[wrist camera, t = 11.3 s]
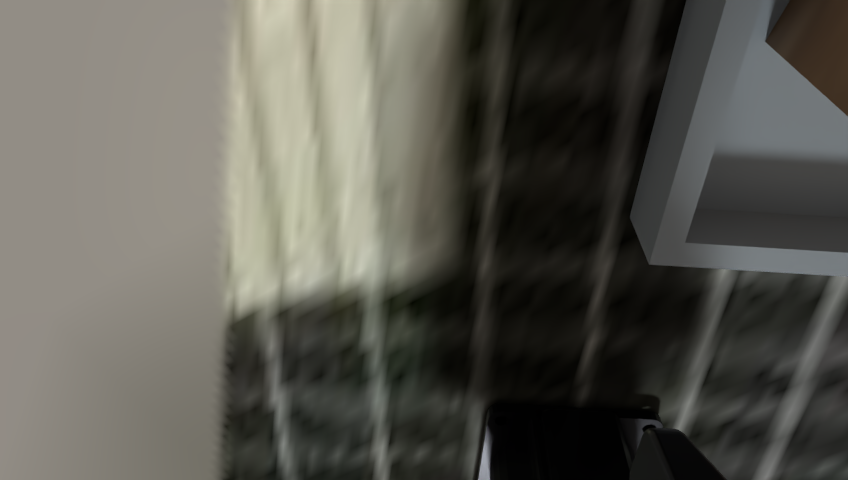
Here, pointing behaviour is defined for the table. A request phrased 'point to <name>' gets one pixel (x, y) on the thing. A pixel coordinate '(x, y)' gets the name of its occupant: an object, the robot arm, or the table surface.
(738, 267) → the tray
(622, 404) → the table surface
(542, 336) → the table surface
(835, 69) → the block
